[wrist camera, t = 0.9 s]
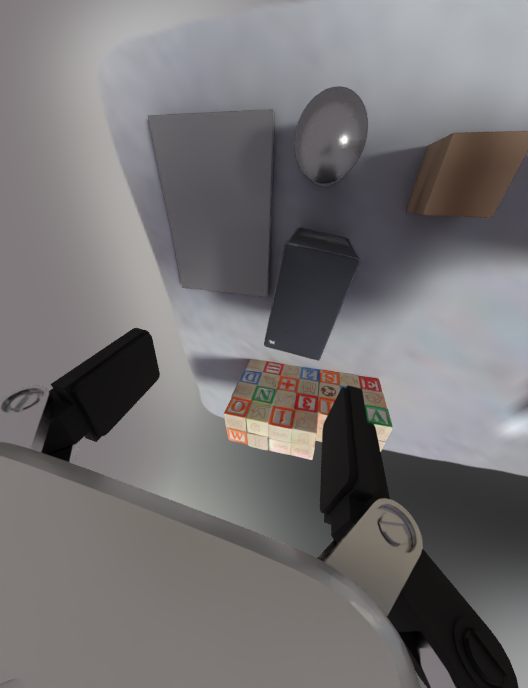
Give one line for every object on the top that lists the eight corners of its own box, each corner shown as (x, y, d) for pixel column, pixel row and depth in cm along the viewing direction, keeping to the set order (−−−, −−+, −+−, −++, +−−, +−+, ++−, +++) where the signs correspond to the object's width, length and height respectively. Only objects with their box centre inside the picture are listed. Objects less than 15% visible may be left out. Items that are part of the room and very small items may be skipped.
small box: (322, 318, 31) (321, 364, 22) (278, 307, 31) (260, 347, 23) (352, 238, 24) (365, 260, 16) (296, 226, 25) (281, 240, 17)
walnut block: (492, 144, 18) (538, 130, 14) (461, 213, 21) (492, 217, 17) (427, 146, 19) (453, 132, 15) (405, 211, 22) (422, 215, 18)
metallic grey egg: (363, 116, 19) (377, 83, 14) (349, 186, 22) (357, 183, 16) (306, 119, 20) (298, 89, 14) (300, 185, 23) (291, 182, 17)
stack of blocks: (380, 377, 34) (401, 451, 24) (369, 404, 37) (384, 478, 28) (249, 358, 38) (222, 414, 28) (251, 383, 42) (227, 441, 32)
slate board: (275, 112, 20) (272, 109, 20) (268, 294, 31) (267, 297, 30) (154, 118, 23) (147, 115, 22) (185, 285, 33) (182, 287, 32)
